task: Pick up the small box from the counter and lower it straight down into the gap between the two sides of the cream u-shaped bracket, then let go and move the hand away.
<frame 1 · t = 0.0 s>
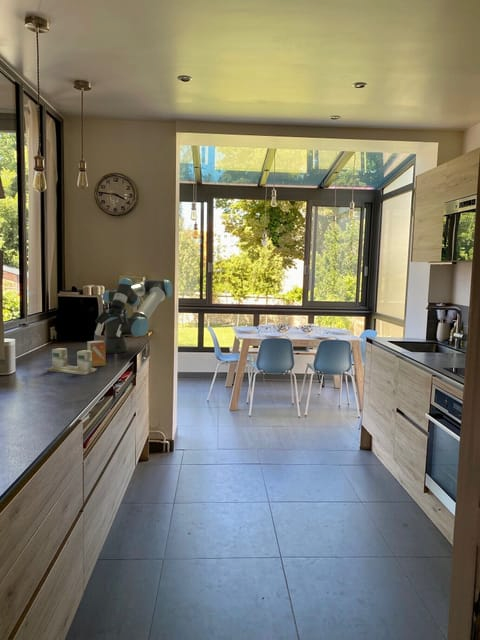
hand: (107, 335, 244), 15 cm above the worktop, fingers open, 13 cm apart
cream u-shaped bracket: (72, 370, 225), on the worktop
small box: (96, 365, 238), on the worktop
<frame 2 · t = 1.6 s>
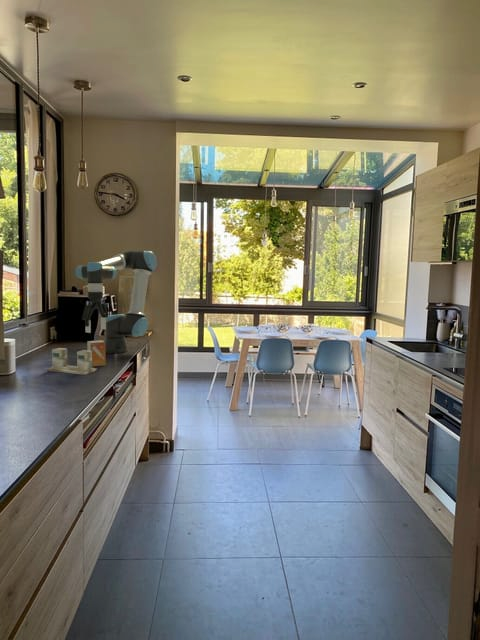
hand: (95, 330, 236), 19 cm above the worktop, fingers open, 13 cm apart
nothing on the worktop moved.
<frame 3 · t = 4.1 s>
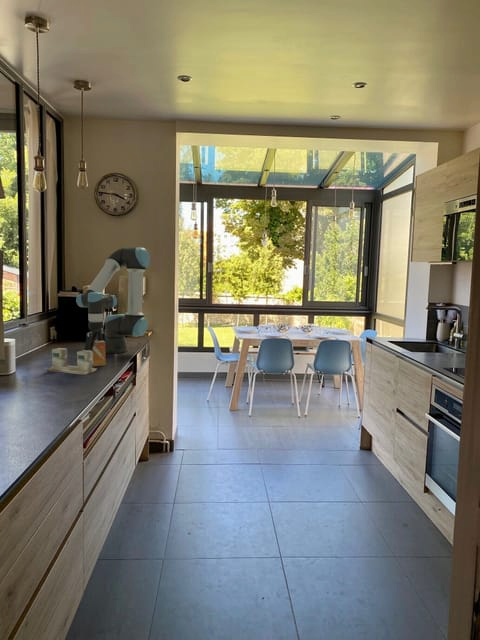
hand: (96, 361, 238), 2 cm above the worktop, fingers closed on small box, 10 cm apart
small box: (96, 365, 238), on the worktop, touching gripper
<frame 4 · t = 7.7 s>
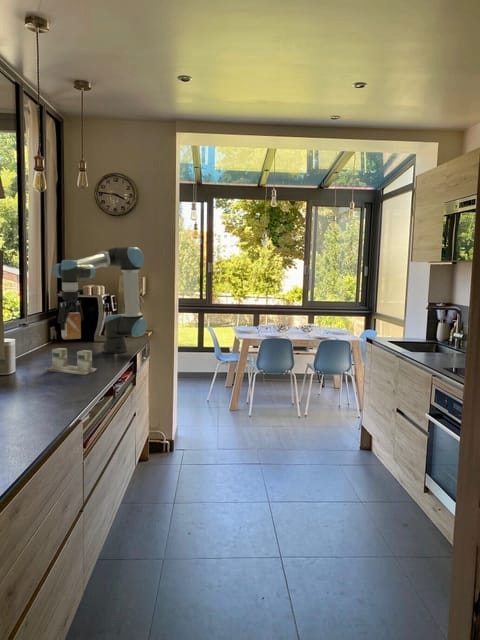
hand: (71, 334, 223), 19 cm above the worktop, fingers closed on small box, 10 cm apart
small box: (71, 338, 223), point 17 cm above the worktop, touching gripper
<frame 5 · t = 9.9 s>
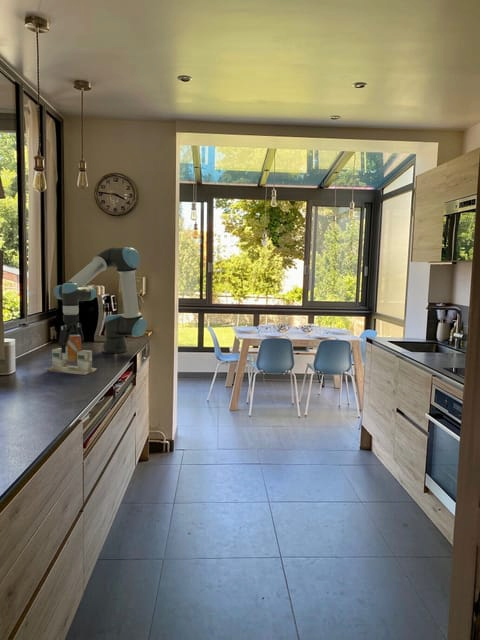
hand: (72, 357, 224), 7 cm above the worktop, fingers closed on small box, 10 cm apart
small box: (72, 360, 225), point 5 cm above the worktop, touching gripper
when the fingers open (5 cm above the worktop, at t = 11.6 s): small box drops 1 cm, resting on cream u-shaped bracket.
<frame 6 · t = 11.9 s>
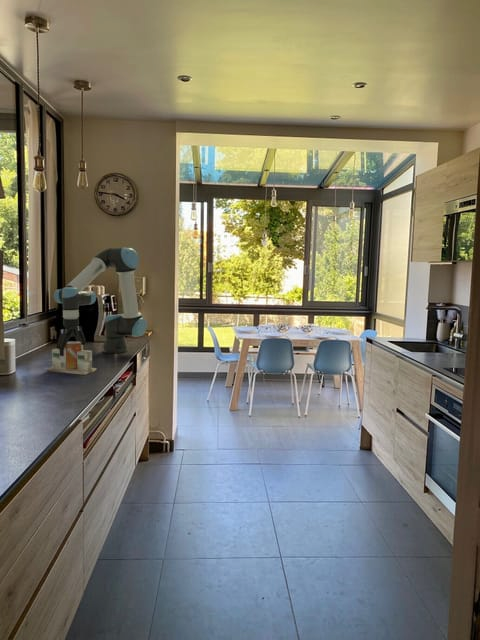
hand: (72, 359, 225), 6 cm above the worktop, fingers open, 13 cm apart
small box: (72, 367, 225), point 1 cm above the worktop, touching cream u-shaped bracket
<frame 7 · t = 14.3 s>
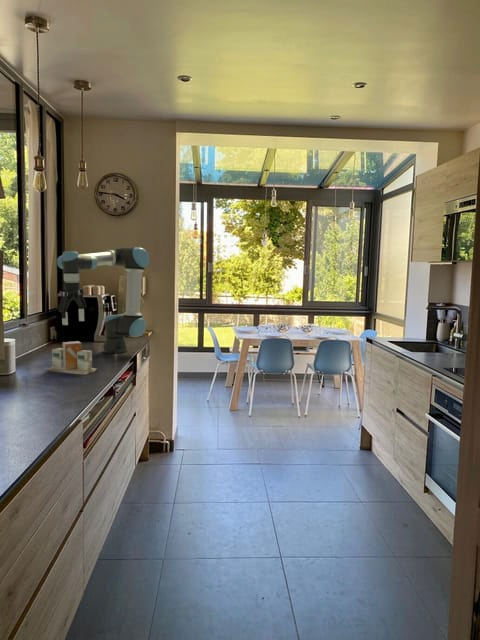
hand: (73, 322, 228), 24 cm above the worktop, fingers open, 13 cm apart
nothing on the worktop moved.
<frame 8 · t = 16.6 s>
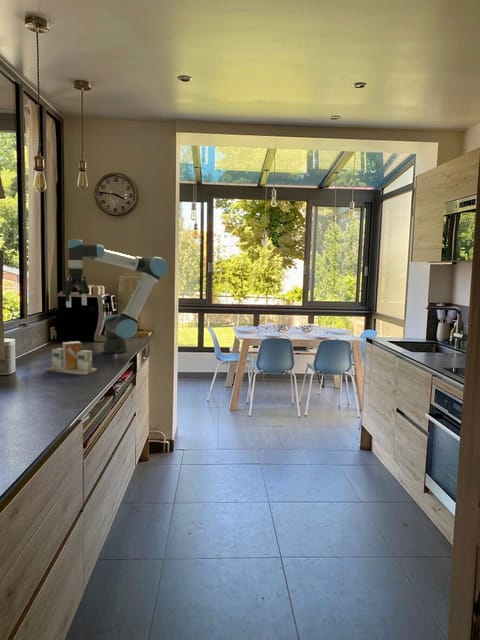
hand: (76, 306, 246), 31 cm above the worktop, fingers open, 13 cm apart
nothing on the worktop moved.
at the end: small box 0.2 cm off-centre on the cream u-shaped bracket, point 1.4 cm above the cream u-shaped bracket's base; small box tilted 0°; the gripper is holding nothing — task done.
